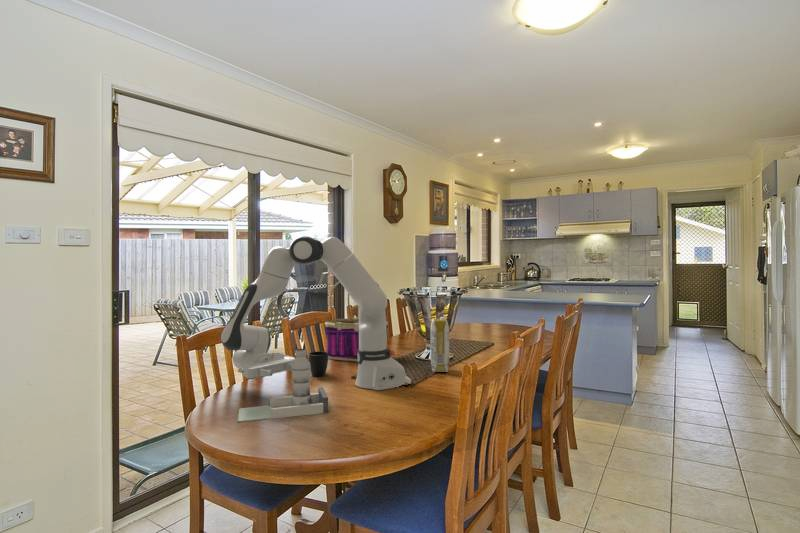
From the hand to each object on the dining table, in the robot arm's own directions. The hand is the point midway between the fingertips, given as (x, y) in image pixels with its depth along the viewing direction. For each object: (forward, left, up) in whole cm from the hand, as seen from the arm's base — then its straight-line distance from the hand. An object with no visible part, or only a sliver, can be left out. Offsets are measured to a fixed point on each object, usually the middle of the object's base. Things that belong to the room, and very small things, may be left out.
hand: (282, 370), depth 161 cm
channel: (-4, +10, -11) cm, 15 cm away
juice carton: (-69, -21, -11) cm, 73 cm away
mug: (-18, -33, -11) cm, 39 cm away
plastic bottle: (-6, +10, -11) cm, 16 cm away
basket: (-39, -59, -11) cm, 72 cm away
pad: (+9, +10, -11) cm, 17 cm away
